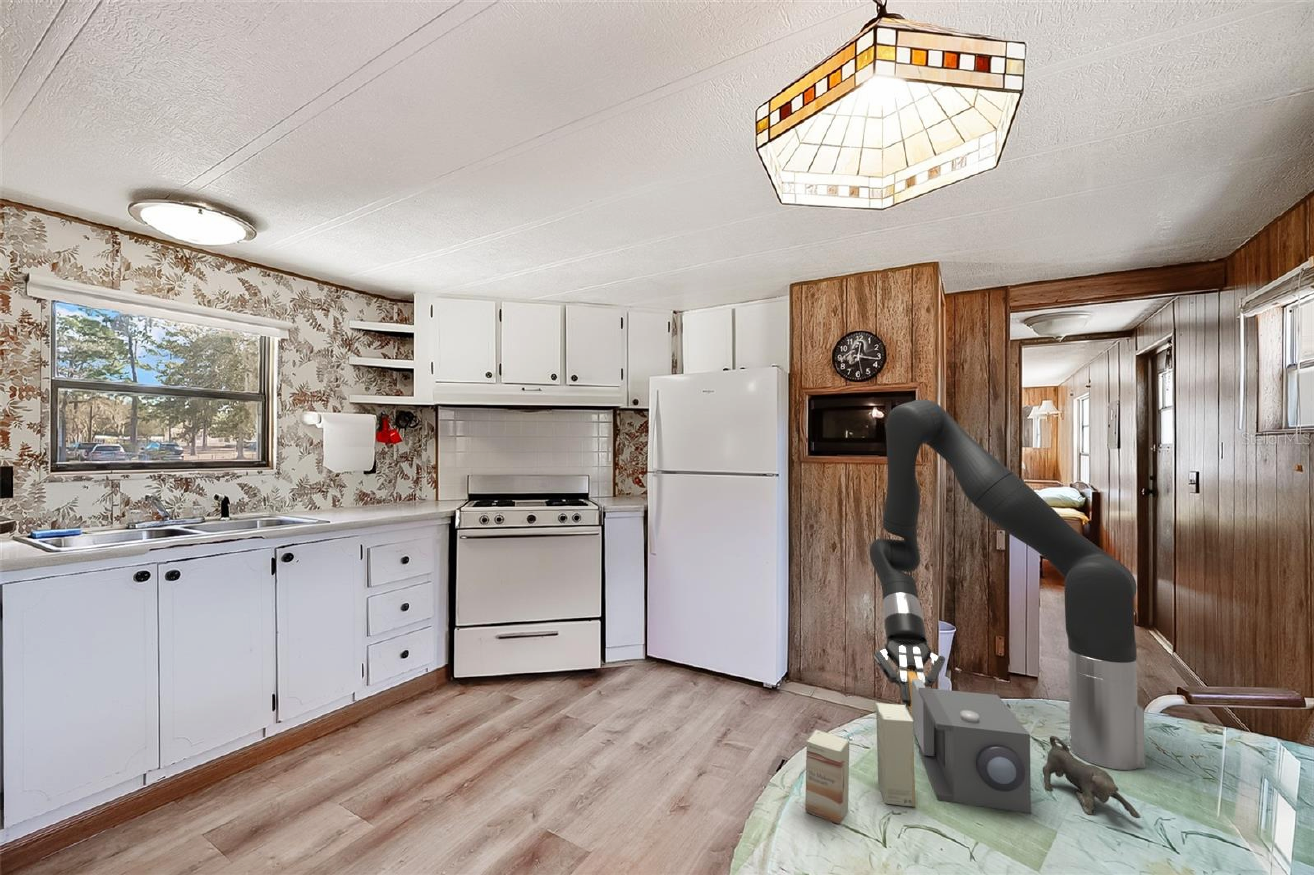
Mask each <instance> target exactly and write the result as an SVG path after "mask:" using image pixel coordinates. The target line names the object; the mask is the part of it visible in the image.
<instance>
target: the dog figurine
mask: <svg viewBox="0 0 1314 875" xmlns="http://www.w3.org/2000/svg"><path fill="white" fill-rule="evenodd" d="M1057 742H1058V743H1059V745H1058V744H1057ZM1049 744H1050V745H1051V748H1050V750H1049V751H1048V754H1047V760H1046V763H1045V765H1044V766H1043V767H1042V773H1043V781H1044V790H1046V791H1047V792H1052V791H1053V786H1052V783H1051V780H1052V779H1051V777H1052V774H1054V775H1055V776H1056V777H1058V778H1062V777H1063V776H1064V777H1065V778H1066V780H1067V781H1068V783H1070V784H1072V785H1073V786H1074V787H1075V788H1076V789H1078V790H1079V791H1080V792H1079V791H1077V792H1076V796H1077V799H1078V801H1079V803H1080V805H1081V806H1082V810H1083V812H1084V813H1086V814H1087V815H1091V816H1092V815H1093V814H1094V813H1093V810H1094V809H1095V800H1096V798H1097V799H1098V800H1099V802H1100V803H1103V804H1107V802H1108V801H1109V798H1110V797H1111V798H1112V799H1114V800H1117V801H1118V802H1119V803H1120V804H1121V805H1122V806H1123V807H1124V809H1125V811H1127V812H1129V815H1130V816H1131V817H1133V818H1134V819H1140V818H1141V814H1140V813H1139V812H1138V811H1137V810H1136V809H1135V808H1134V806H1133V805H1132V804H1131V803H1130V802H1129V801H1127V800H1126V799H1125V798H1124V797H1123V795H1121V794H1120V793H1119V792H1118V791H1120V790H1119V789H1120V788H1119V787H1118V786H1117V785H1116V783H1115V781H1114V779H1113V777H1112V776H1111V774H1109V773H1108V771H1106V770H1104V769H1101V768H1100V767H1098V766H1095V765H1092V764H1087V763H1084V762H1082V761H1081V760H1079V759H1078V758H1075V757H1074V755H1073V754H1072V752H1070V751H1071V750H1070V747H1068V745H1067V744H1066V743H1065V742H1063V740H1061V739H1060V737H1057V736H1055V735H1050V736H1049ZM1060 745H1061V746H1060ZM1081 792H1082V793H1081Z"/></svg>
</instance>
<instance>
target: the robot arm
mask: <svg viewBox="0 0 1314 875" xmlns="http://www.w3.org/2000/svg"><path fill="white" fill-rule="evenodd" d="M885 424H886V426H885V427H886V428H885V430H886V431H885V432H886V433H885V435H886V460H887V461H886V465H887V466H886V467H887V482H886V483H887V484H886V494H885V495H886V497H885V502H884V510H883V517H882V528H883V529H884V530H885V532H887V533H889V534H891V535H893V536H897V537H900V538H902V539H903V540H902V539H893V538H891V539H890V538H877V539H875V540H874V541H872V543H871V545H870V547H869V558H870V562H871V564H872V567H873V569H874V571H875V573H876V576H877V578H878V580H879V583H880V586H881V591H882V592H881V593H882V601H883V605H882V606H883V607H882V610H883V611H882V612H883V617H882V618H883V622H884V630H885V639H886V640H885V642H886V644H885V646H884V649H882V650H879V649H877V650H874V655H873V660H874V661H875V663H876V664H877V666H878V667H879V668H880V670H881V672H882V673H883V675H884V676H885V677H886V678H887V680H888V682H890V683H891V684H897V685H898V686H899V690H900V698H901V699H900V700H901V701H902V703H904V704H905V707H910V705H911V697H910V690H909V683H907V670H911V671H915V673H916V675H917V677H918V679H921V680H922V681H923V683H924V685H925V687H926V688H927V687H928V688H932V687H933V686H934V685H935V682H936V681H937V679H938V677H939V674H940V673H941V671H942V669H943V667H944V664H945V662H946V658H945V657H944V655H939V656H938V655H936V654H935V653H933V652H932V649H931V647H930V646H929V645H928V641H927V634H926V629H925V628H926V627H925V623H924V616H923V611H922V607H921V605H920V600H919V595H918V587H917V583H916V580H915V578H914V577H913V576H912V575H910V574H909V573H913V572H914V571H915V570H917V569H919V568H918V567H919V565H921V564H920V563H921V554H920V549H919V543H918V536H917V535H918V534H917V533H918V532H917V528H918V527H917V526H918V520H919V516H920V515H919V514H920V509H921V508H920V507H921V506H920V505H921V494H920V488H919V484H918V481H917V475H916V463H917V458H918V455H919V452H920V450H921V446H922V445H923V444H926V445H927V446H928V447H930V448H931V449H932V450H933V451H935V452H936V454H938V455H939V456H940V457H942V459H943V460H945V461H946V463H947V464H948V465H949V466H950V469H951V470H952V472H953V474H954V476H955V477H956V481H957V482H958V484H959V485H960V488H961V490H962V492H963V494H964V495H965V497H966V498H967V499H968V501H969V502H971V504H972V505H974V506H975V507H976V508H977V509H978V510H979V511H980V512H981V513H982V514H983V515H984V516H985V517H986V518H987V519H989V521H991V522H992V523H993V524H995V525H996V526H997V527H998V528H1000V529H1002V530H1003V531H1005V532H1006V533H1007V534H1009V535H1010V536H1012V537H1014V538H1015V539H1017V540H1018V541H1020V542H1021V543H1024V544H1025V545H1026V546H1028V547H1030V548H1031V549H1033V550H1034V551H1036V553H1038V554H1040V555H1041V556H1042V557H1043V558H1044V559H1045V560H1046V561H1047V562H1048V563H1050V565H1052V566H1053V567H1054V568H1055V569H1056V571H1058V573H1059V574H1060V575H1061V576H1062V577H1063V578H1064V579H1065V580H1064V614H1065V615H1064V618H1065V632H1066V636H1067V643H1068V644H1067V645H1068V650H1067V651H1068V656H1067V657H1068V706H1069V707H1068V710H1069V711H1068V713H1069V716H1068V717H1069V718H1068V719H1069V721H1068V722H1069V734H1068V735H1069V736H1068V737H1069V750H1070V751H1072V752H1071V753H1074V755H1076V756H1077V757H1079V758H1081V759H1082V760H1085V761H1086V762H1089V763H1092V764H1093V765H1097V766H1100V767H1103V768H1109V769H1113V770H1121V771H1129V770H1131V771H1132V770H1135V769H1146V748H1145V747H1146V746H1145V711H1144V708H1143V707H1141V705H1139V704H1138V673H1137V672H1138V671H1137V670H1138V669H1137V668H1138V667H1137V666H1138V665H1137V661H1138V660H1137V658H1138V657H1137V653H1138V652H1137V640H1136V632H1135V597H1136V594H1137V587H1138V586H1137V582H1136V579H1135V576H1134V575H1133V574H1132V572H1131V570H1130V569H1129V568H1127V566H1126V565H1125V564H1123V563H1122V562H1121V561H1119V560H1117V558H1115V557H1113V556H1112V555H1110V554H1109V553H1107V552H1106V551H1105V550H1103V549H1101V548H1100V547H1098V546H1097V545H1096V544H1094V543H1093V542H1092V541H1091V540H1089V539H1088V538H1086V537H1085V536H1084V535H1083V534H1081V533H1080V532H1078V531H1077V530H1076V529H1074V528H1073V527H1072V526H1071V525H1070V524H1069V523H1068V522H1067V521H1065V519H1064V518H1063V517H1062V516H1061V515H1060V514H1059V513H1058V512H1057V511H1056V510H1055V509H1054V508H1053V507H1052V506H1051V505H1050V504H1049V503H1048V502H1047V501H1046V500H1044V498H1042V497H1041V496H1040V495H1039V494H1038V493H1037V492H1036V491H1035V490H1033V489H1032V488H1031V487H1030V485H1028V483H1026V482H1024V481H1023V480H1022V479H1021V478H1020V477H1018V476H1017V475H1016V474H1015V473H1014V472H1013V471H1012V470H1010V469H1009V468H1008V467H1007V466H1006V465H1004V463H1001V462H1000V461H999V460H998V459H997V458H996V457H995V456H993V455H992V454H991V453H990V452H988V450H986V449H985V448H984V447H983V446H981V445H980V444H979V443H978V442H977V441H976V440H974V439H973V438H972V437H971V436H970V435H969V434H968V433H967V432H966V431H965V430H964V429H963V428H962V427H961V426H960V424H958V423H957V422H956V421H955V419H954V418H953V417H952V416H951V415H950V414H949V413H948V412H947V411H946V410H945V409H944V408H943V407H942V406H941V405H940V404H938V403H936V402H935V401H933V400H929V399H923V398H921V399H916V400H912V401H909V402H904V403H901V404H900V405H897V406H895V407H893V408H892V409H891V411H889V413H888V415H887V419H886V423H885ZM888 659H890V661H891V662H893V663H894V665H895V666H896V667H897V672H896V671H895V669H894V668H893V667H892V666H891V664H890V663H889V661H888ZM929 660H930V666H931V667H932V668H931V671H930V672H929V674H928V675H927V676H925V674H924V673H925V672H924V667H925V666H926V663H927V662H928V661H929Z"/></svg>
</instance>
